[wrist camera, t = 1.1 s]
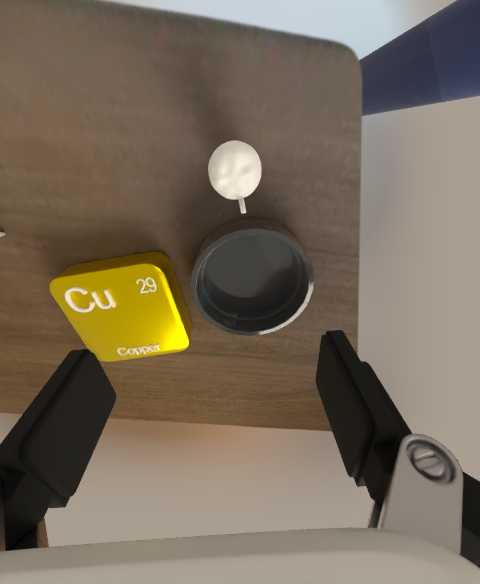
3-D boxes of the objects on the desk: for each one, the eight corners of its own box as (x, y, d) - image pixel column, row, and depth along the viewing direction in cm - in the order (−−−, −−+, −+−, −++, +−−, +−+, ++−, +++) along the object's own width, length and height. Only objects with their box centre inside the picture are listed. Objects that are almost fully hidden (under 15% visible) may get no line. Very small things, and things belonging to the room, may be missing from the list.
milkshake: (221, 196, 30) (217, 219, 21) (208, 146, 27) (199, 149, 19) (258, 187, 29) (269, 207, 21) (249, 135, 27) (258, 133, 18)
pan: (267, 190, 30) (273, 199, 25) (322, 281, 37) (334, 299, 32) (172, 260, 34) (164, 277, 30) (237, 329, 41) (238, 351, 37)
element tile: (108, 344, 42) (95, 367, 38) (61, 265, 34) (37, 283, 30) (195, 332, 41) (191, 353, 37) (167, 247, 33) (158, 263, 29)
